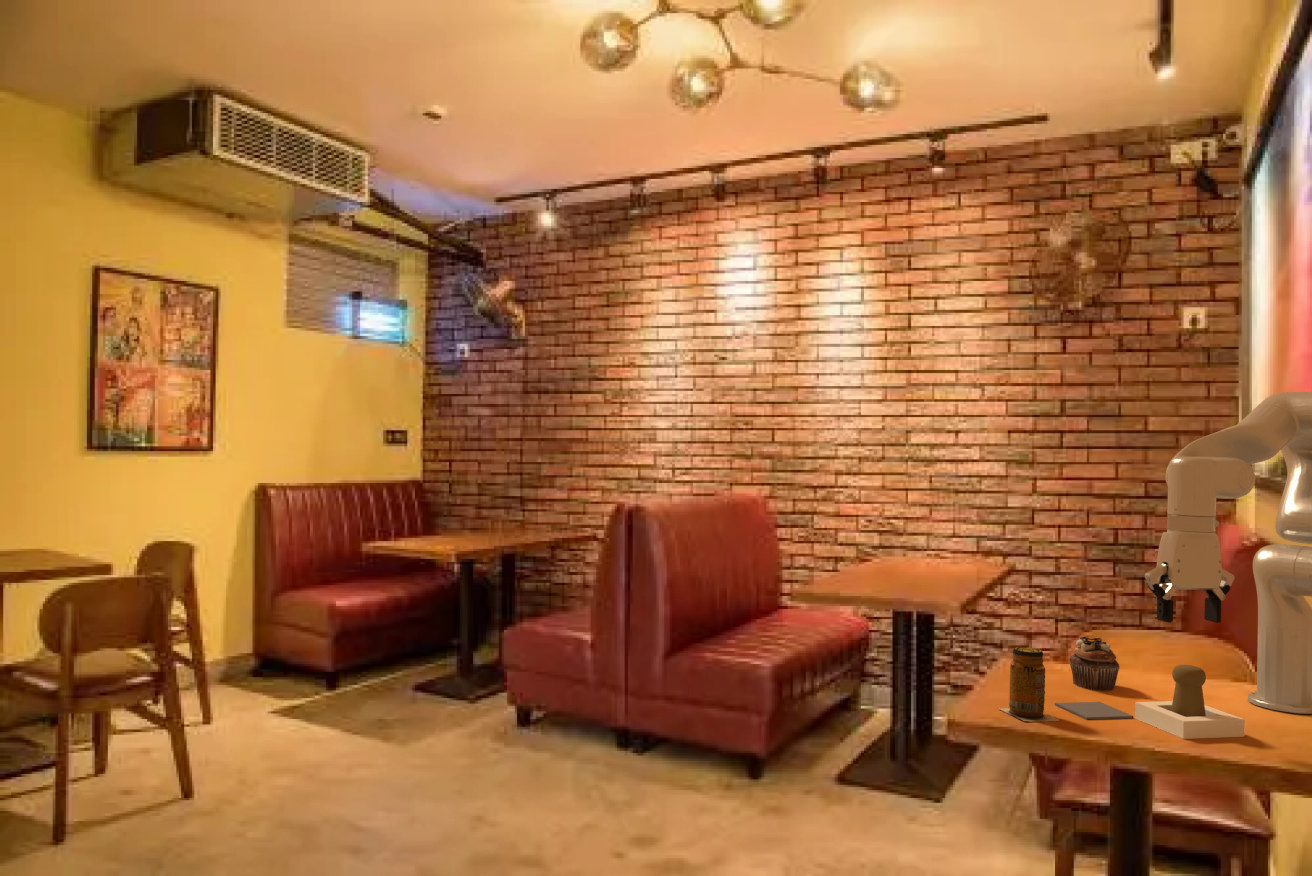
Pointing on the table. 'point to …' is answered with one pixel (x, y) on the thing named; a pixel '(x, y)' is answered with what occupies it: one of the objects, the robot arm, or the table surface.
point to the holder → (1189, 721)
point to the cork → (1188, 691)
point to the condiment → (1027, 686)
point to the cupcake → (1094, 665)
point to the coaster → (1093, 710)
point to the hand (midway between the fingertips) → (1188, 621)
